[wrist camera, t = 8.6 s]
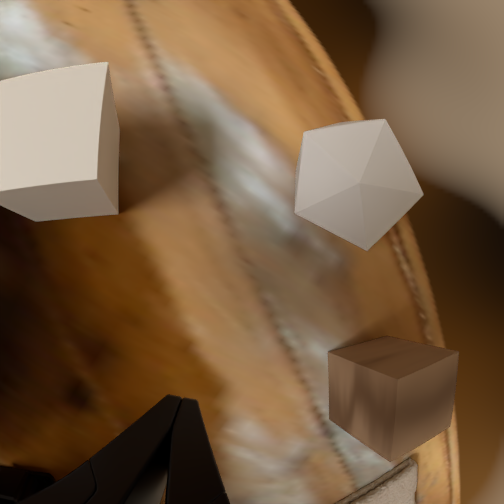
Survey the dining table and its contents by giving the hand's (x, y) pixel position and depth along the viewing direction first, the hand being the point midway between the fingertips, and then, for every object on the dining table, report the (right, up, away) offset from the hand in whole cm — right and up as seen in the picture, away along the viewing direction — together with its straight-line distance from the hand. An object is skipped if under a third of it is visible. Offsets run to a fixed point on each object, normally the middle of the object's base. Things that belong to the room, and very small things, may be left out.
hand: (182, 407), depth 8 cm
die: (+7, +9, +16) cm, 20 cm away
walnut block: (+11, -6, +16) cm, 20 cm away
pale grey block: (-10, +9, +10) cm, 17 cm away
